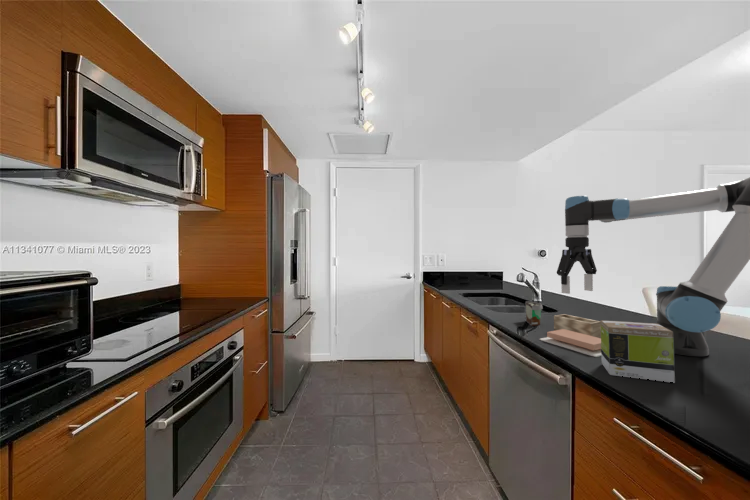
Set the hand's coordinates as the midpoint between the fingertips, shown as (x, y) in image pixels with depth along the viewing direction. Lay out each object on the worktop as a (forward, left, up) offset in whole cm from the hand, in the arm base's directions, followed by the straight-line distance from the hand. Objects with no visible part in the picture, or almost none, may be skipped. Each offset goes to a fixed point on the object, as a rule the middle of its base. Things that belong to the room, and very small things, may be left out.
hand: (577, 291), depth 119 cm
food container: (+30, -14, -21) cm, 39 cm away
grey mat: (0, 0, -21) cm, 21 cm away
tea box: (-24, +11, -21) cm, 34 cm away
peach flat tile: (0, 0, -20) cm, 20 cm away
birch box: (+9, -13, -21) cm, 26 cm away
